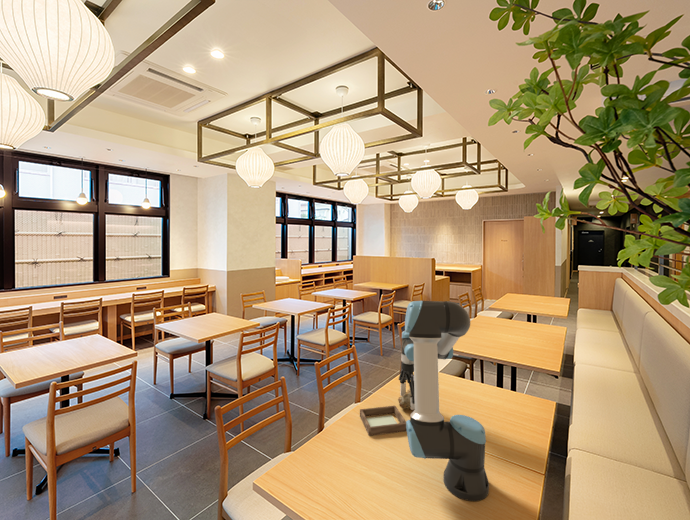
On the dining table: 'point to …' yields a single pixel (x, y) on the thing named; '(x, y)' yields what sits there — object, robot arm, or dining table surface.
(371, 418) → the pad
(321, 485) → the dining table surface
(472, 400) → the dining table surface
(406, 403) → the rock
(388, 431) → the brown wooden tray
